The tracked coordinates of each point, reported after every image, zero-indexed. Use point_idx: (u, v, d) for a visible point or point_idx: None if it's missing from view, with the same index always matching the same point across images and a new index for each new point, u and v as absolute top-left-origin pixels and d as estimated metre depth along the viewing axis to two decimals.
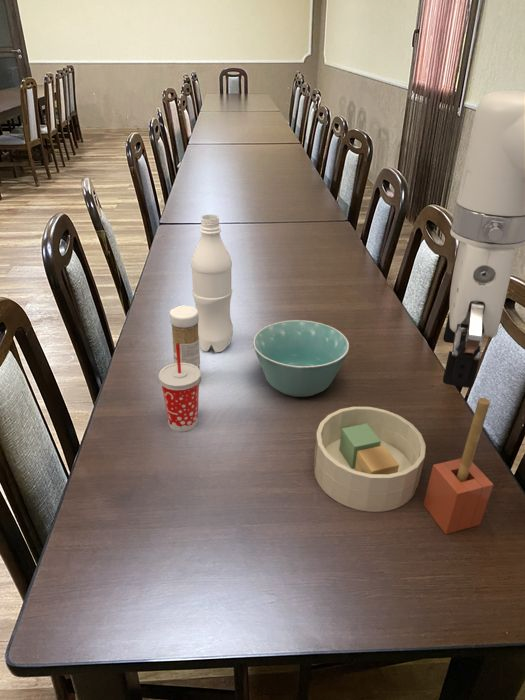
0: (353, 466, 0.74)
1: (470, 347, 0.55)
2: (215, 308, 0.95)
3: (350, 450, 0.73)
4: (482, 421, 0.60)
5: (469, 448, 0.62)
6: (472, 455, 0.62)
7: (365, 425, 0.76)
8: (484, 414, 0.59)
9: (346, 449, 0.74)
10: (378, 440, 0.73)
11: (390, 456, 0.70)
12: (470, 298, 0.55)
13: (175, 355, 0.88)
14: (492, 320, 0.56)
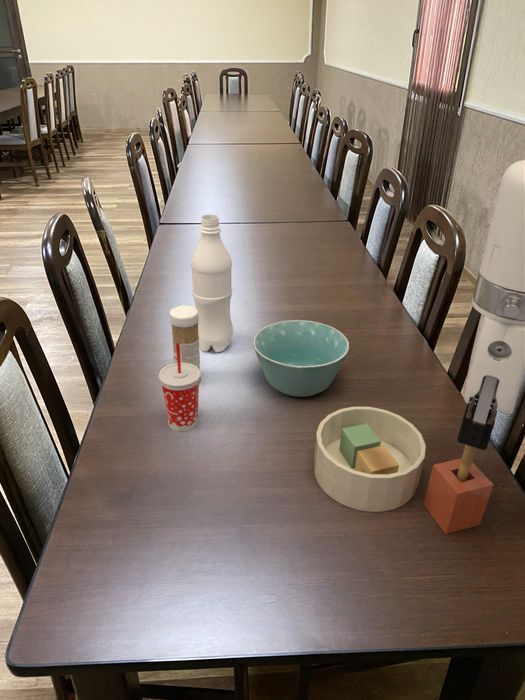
0: (353, 466, 0.74)
1: None
2: (215, 308, 0.95)
3: (350, 450, 0.73)
4: None
5: (469, 448, 0.62)
6: (472, 455, 0.62)
7: (365, 425, 0.76)
8: None
9: (346, 449, 0.74)
10: (378, 440, 0.73)
11: (390, 456, 0.70)
12: (483, 372, 0.52)
13: (175, 355, 0.88)
14: (506, 398, 0.52)
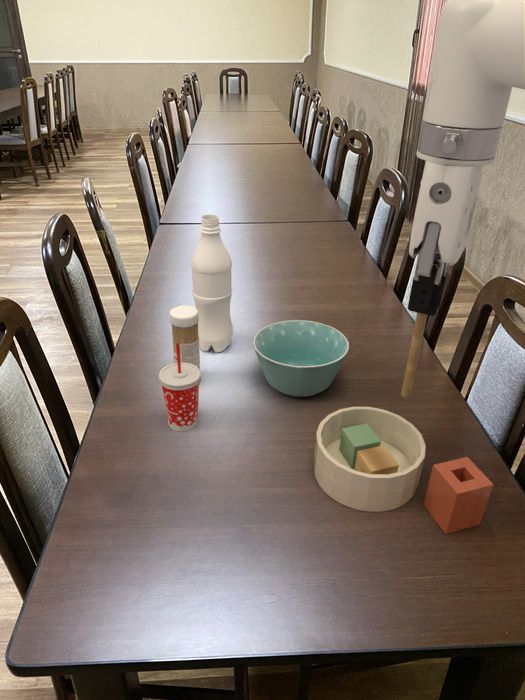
0: (353, 466, 0.74)
1: None
2: (215, 308, 0.95)
3: (350, 450, 0.73)
4: None
5: (419, 317, 0.63)
6: (423, 325, 0.63)
7: (365, 425, 0.76)
8: None
9: (346, 449, 0.74)
10: (378, 440, 0.73)
11: (390, 456, 0.70)
12: (426, 219, 0.53)
13: (175, 355, 0.88)
14: (448, 244, 0.53)
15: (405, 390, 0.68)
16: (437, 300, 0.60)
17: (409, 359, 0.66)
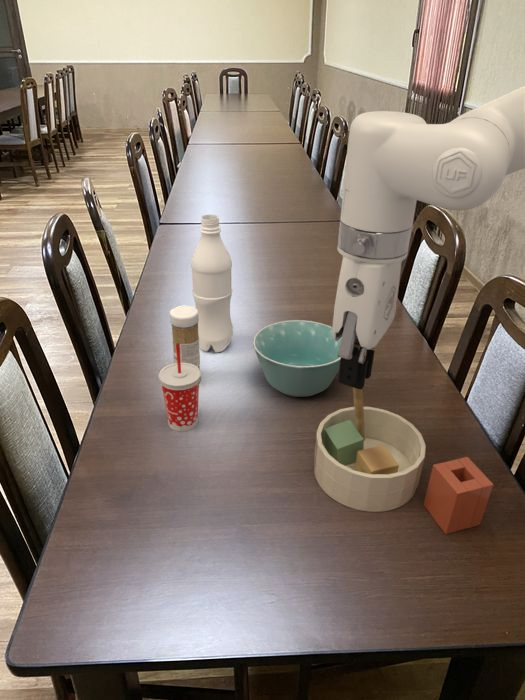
0: None
1: None
2: (215, 308, 0.95)
3: (334, 451, 0.73)
4: None
5: None
6: (361, 389, 0.68)
7: (347, 422, 0.75)
8: None
9: (330, 449, 0.74)
10: (361, 438, 0.72)
11: (390, 456, 0.70)
12: (344, 308, 0.57)
13: (175, 355, 0.88)
14: (364, 332, 0.57)
15: None
16: (363, 376, 0.64)
17: (357, 415, 0.71)
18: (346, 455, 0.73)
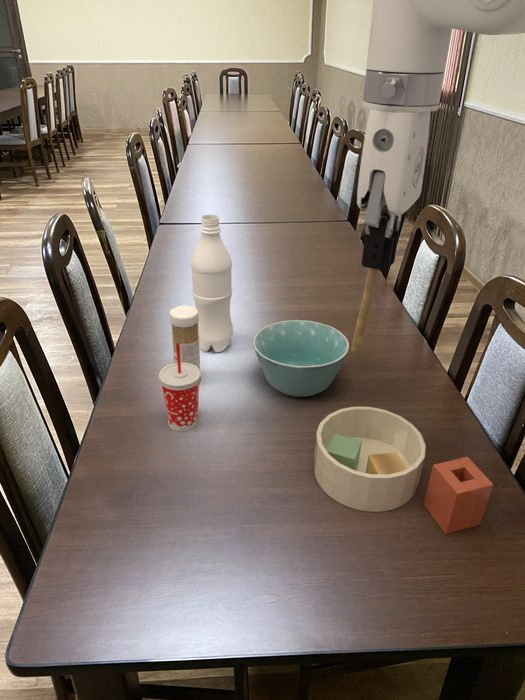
0: None
1: None
2: (215, 308, 0.95)
3: None
4: None
5: (370, 270, 0.63)
6: (373, 279, 0.63)
7: (357, 441, 0.73)
8: None
9: None
10: (353, 457, 0.70)
11: (401, 463, 0.69)
12: (370, 167, 0.53)
13: (175, 355, 0.88)
14: (393, 192, 0.53)
15: (354, 345, 0.69)
16: (389, 254, 0.60)
17: (359, 313, 0.66)
18: None
